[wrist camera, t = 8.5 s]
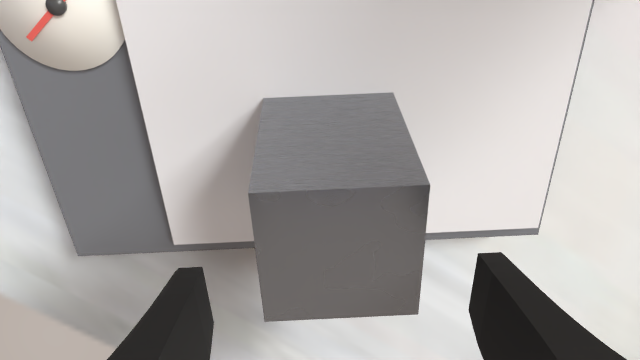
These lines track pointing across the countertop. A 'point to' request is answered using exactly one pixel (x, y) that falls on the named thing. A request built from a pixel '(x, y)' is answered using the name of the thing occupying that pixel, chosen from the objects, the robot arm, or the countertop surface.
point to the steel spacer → (337, 208)
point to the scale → (284, 81)
